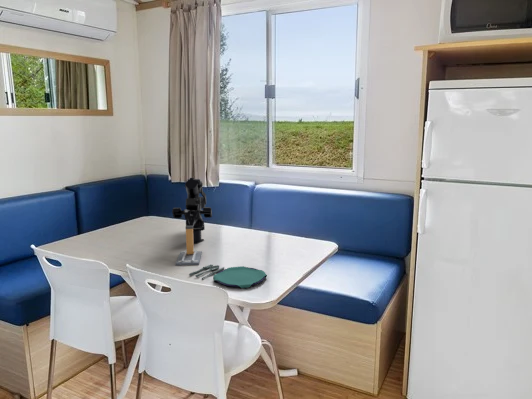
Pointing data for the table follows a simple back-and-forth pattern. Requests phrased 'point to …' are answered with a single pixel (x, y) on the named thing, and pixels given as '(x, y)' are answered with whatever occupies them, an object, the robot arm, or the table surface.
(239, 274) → the cutlery set
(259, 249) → the table surface
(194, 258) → the board
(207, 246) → the table surface
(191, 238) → the tan wooden bar
